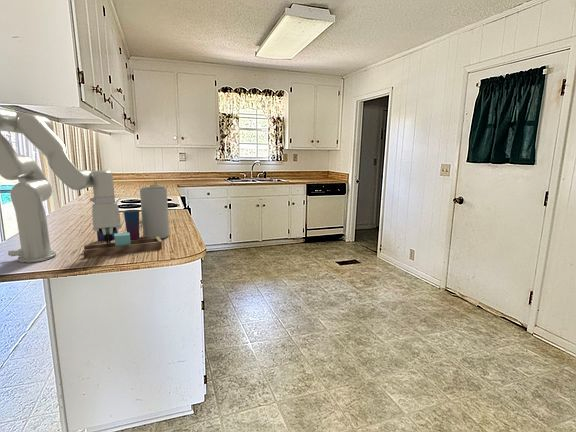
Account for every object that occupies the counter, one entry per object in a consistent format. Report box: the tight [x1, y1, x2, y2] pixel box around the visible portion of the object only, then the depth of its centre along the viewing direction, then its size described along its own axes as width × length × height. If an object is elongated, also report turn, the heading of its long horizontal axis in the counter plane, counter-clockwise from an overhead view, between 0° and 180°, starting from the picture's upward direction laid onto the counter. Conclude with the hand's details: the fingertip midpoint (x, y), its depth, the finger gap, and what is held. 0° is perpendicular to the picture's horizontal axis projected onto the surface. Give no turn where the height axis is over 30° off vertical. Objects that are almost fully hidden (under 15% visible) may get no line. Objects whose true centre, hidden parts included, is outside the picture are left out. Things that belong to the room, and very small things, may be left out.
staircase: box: [149, 179, 165, 187], centre depth 213 cm, size 8×12×26 cm
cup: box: [123, 209, 140, 241], centre depth 164 cm, size 7×7×15 cm
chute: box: [82, 237, 163, 259], centre depth 147 cm, size 30×10×4 cm, turn 118°
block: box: [114, 231, 131, 246], centre depth 146 cm, size 6×5×7 cm
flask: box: [96, 228, 119, 242], centre depth 163 cm, size 9×3×11 cm, turn 135°
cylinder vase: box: [139, 186, 170, 240], centre depth 171 cm, size 12×12×25 cm
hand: (108, 242), depth 144 cm, fingers closed
